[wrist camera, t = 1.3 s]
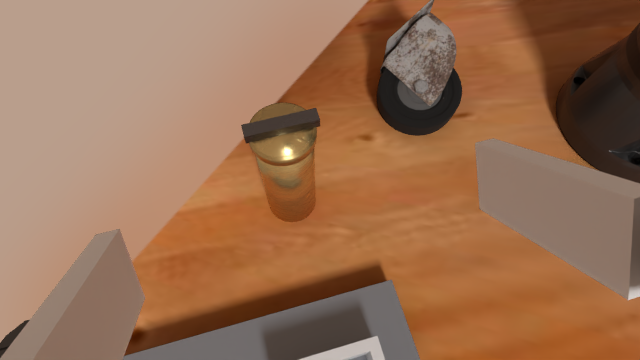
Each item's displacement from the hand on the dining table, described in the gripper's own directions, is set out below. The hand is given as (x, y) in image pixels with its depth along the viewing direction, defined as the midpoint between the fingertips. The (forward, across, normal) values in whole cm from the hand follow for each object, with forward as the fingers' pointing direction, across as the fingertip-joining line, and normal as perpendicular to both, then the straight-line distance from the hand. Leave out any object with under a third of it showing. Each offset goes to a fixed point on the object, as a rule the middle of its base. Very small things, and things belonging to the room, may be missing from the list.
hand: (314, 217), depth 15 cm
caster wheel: (+29, +17, -2) cm, 34 cm away
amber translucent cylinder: (+23, +1, -8) cm, 24 cm away
